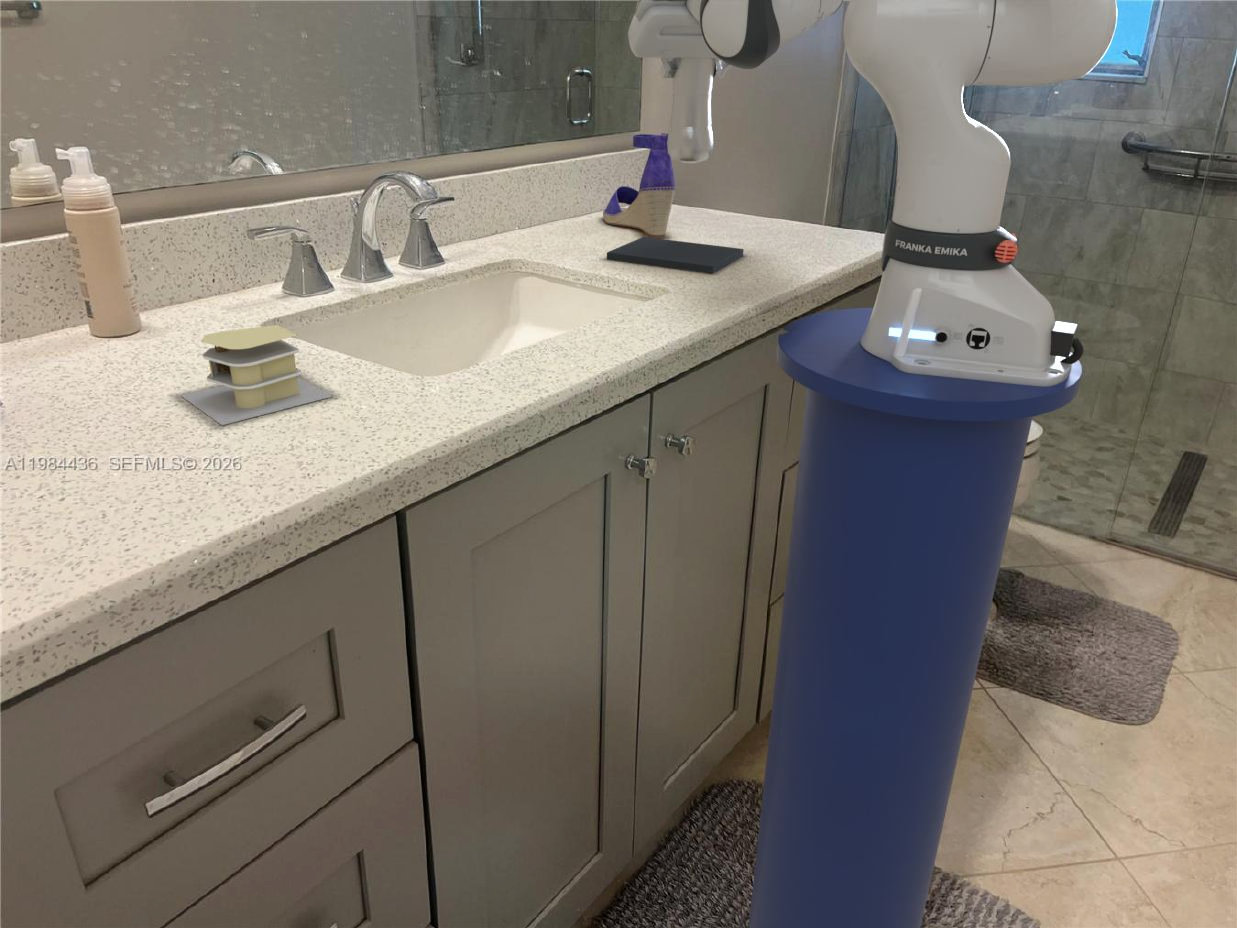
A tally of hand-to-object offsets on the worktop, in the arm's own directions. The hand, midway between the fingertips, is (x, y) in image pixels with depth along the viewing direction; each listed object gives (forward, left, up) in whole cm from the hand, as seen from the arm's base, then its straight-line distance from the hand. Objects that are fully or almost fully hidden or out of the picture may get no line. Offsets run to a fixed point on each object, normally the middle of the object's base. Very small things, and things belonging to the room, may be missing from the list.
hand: (692, 74), depth 129 cm
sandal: (+13, -11, -24) cm, 30 cm away
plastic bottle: (0, +1, -12) cm, 12 cm away
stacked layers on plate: (+10, +73, -24) cm, 77 cm away
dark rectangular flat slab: (-1, +5, -24) cm, 24 cm away
